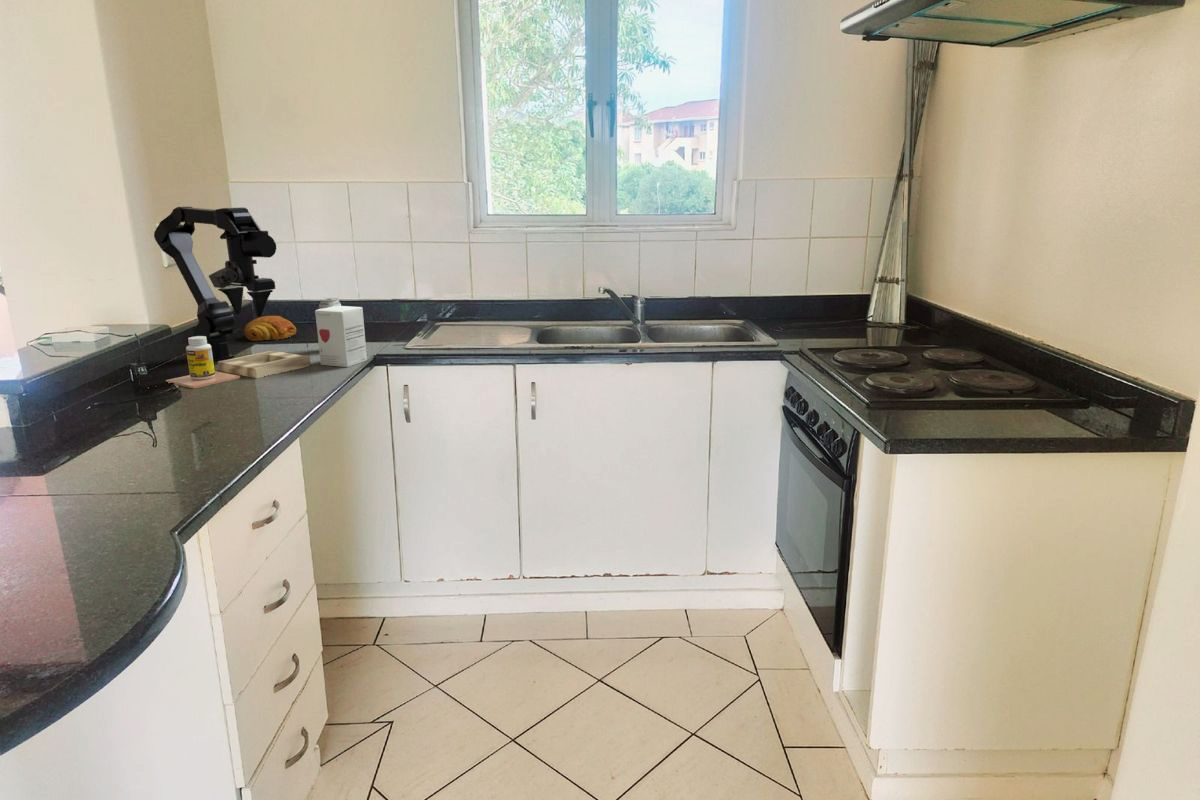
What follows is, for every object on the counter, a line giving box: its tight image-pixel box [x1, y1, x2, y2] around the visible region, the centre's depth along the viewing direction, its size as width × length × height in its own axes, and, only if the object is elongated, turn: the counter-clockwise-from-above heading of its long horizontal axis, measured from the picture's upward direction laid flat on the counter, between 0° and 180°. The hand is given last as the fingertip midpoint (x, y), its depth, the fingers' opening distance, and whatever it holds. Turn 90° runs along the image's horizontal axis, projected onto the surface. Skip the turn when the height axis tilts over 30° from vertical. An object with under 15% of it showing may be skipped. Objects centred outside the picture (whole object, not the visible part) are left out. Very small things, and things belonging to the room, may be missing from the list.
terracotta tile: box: [165, 370, 241, 389], centre depth 190 cm, size 12×12×1 cm
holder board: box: [217, 350, 311, 379], centre depth 202 cm, size 16×16×2 cm
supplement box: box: [314, 305, 368, 368], centre depth 206 cm, size 9×9×15 cm
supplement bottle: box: [185, 335, 216, 380], centre depth 189 cm, size 6×6×10 cm
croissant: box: [243, 315, 297, 342], centre depth 244 cm, size 14×16×8 cm
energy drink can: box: [318, 297, 342, 309], centre depth 222 cm, size 6×6×15 cm
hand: (248, 315), depth 206 cm, fingers open, 9 cm apart
